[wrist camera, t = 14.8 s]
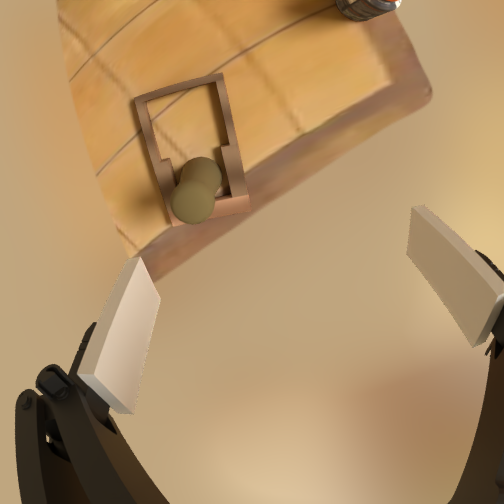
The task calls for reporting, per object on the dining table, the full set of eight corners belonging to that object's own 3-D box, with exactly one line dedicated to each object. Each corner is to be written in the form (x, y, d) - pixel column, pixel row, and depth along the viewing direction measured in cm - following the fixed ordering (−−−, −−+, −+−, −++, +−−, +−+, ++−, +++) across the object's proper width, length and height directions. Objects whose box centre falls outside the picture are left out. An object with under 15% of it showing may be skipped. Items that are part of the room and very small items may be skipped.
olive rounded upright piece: (181, 196, 41) (165, 232, 32) (180, 157, 38) (161, 182, 29) (222, 196, 42) (218, 232, 32) (222, 157, 38) (218, 182, 29)
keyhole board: (137, 97, 33) (133, 97, 31) (222, 73, 32) (222, 72, 31) (174, 222, 43) (172, 226, 42) (250, 206, 43) (251, 210, 41)
